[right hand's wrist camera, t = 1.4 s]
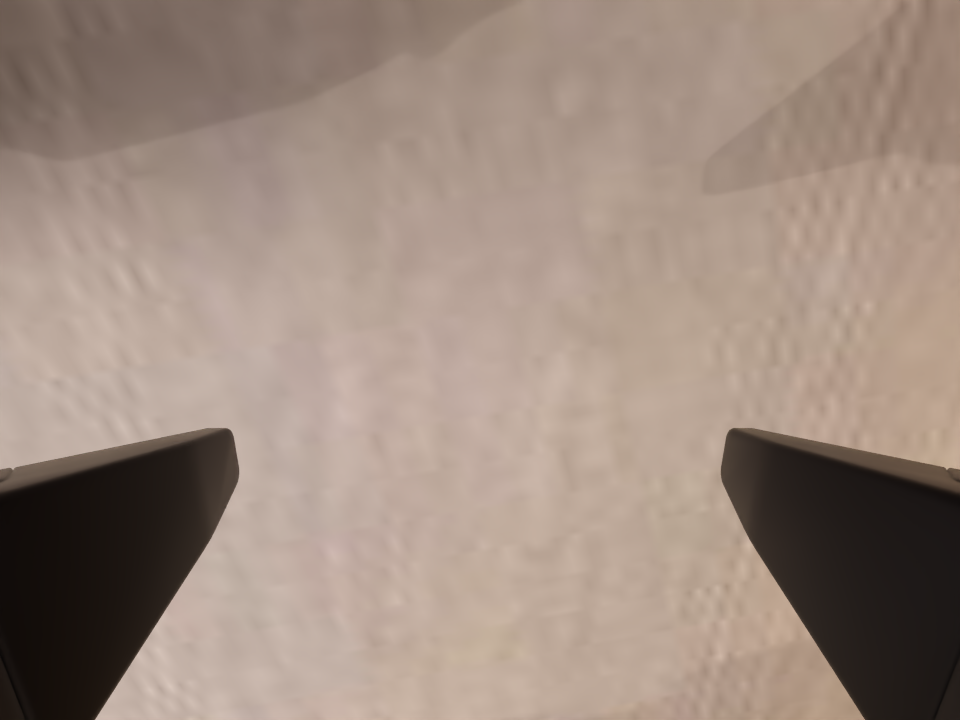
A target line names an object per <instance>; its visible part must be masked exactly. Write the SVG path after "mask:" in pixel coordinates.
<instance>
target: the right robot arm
mask: <svg viewBox="0 0 960 720" xmlns="http://www.w3.org/2000/svg"><path fill="white" fill-rule="evenodd" d="M238 478H239V465H238V459H237V453H236V448H235V442H234V436H233V434H232V432H231V430H229V429H227V428H207V429H202V430H197V431H192V432H187V433H182V434H177V435H172V436H167V437H162V438H158V439H153V440H148V441H143V442H138V443H133V444H128V445H123V446H118V447H113V448H108V449H104V450H99V451H94V452H89V453H84V454H79V455H74V456H69V457H64V458H59V459H55V460H50V461H45V462H40V463H35V464H30V465H25V466H20V467H16V468H14V470H12V469H11V468H6V469H1V470H0V720H95V719H96V717H97V716H98V714H99V713H100V711H101V709H102V708H103V706H104V705H105V703H106V702H107V700H108V699H109V697H110V695H111V694H112V692H113V691H114V689H115V688H116V686H117V685H118V683H119V681H120V680H121V678H122V677H123V675H124V674H125V672H126V671H127V669H128V667H129V666H130V664H131V663H132V661H133V660H134V658H135V657H136V655H137V653H138V652H139V650H140V649H141V647H142V646H143V644H144V643H145V641H146V639H147V638H148V636H149V635H150V633H151V632H152V630H153V629H154V627H155V625H156V624H157V622H158V621H159V619H160V618H161V616H162V615H163V613H164V611H165V610H166V608H167V607H168V605H169V604H170V602H171V600H172V599H173V597H174V596H175V594H176V593H177V591H178V590H179V588H180V586H181V585H182V583H183V582H184V580H185V579H186V577H187V576H188V574H189V572H190V571H191V569H192V568H193V566H194V565H195V563H196V562H197V560H198V558H199V557H200V555H201V554H202V552H203V551H204V549H205V547H206V546H207V544H208V542H209V541H210V539H211V537H212V535H213V533H214V531H215V529H216V527H217V525H218V523H219V521H220V519H221V517H222V515H223V512H224V510H225V508H226V506H227V504H228V502H229V500H230V498H231V496H232V493H233V491H234V489H235V487H236V485H237V482H238ZM721 478H722V482H723V485H724V487H725V489H726V491H727V493H728V496H729V498H730V500H731V502H732V504H733V506H734V508H735V510H736V513H737V515H738V517H739V519H740V521H741V523H742V525H743V527H744V529H745V531H746V533H747V535H748V537H749V539H750V541H751V542H752V544H753V546H754V547H755V549H756V551H757V552H758V554H759V555H760V557H761V558H762V560H763V562H764V563H765V565H766V566H767V568H768V569H769V571H770V572H771V574H772V576H773V577H774V579H775V580H776V582H777V583H778V585H779V586H780V588H781V590H782V591H783V593H784V594H785V596H786V597H787V599H788V600H789V602H790V604H791V605H792V607H793V608H794V610H795V611H796V613H797V614H798V616H799V618H800V619H801V621H802V622H803V624H804V625H805V627H806V628H807V630H808V632H809V633H810V635H811V636H812V638H813V639H814V641H815V642H816V644H817V646H818V647H819V649H820V650H821V652H822V653H823V655H824V656H825V658H826V660H827V661H828V663H829V664H830V666H831V667H832V669H833V670H834V672H835V674H836V675H837V677H838V678H839V680H840V681H841V683H842V684H843V686H844V688H845V689H846V691H847V692H848V694H849V695H850V697H851V698H852V700H853V702H854V703H855V705H856V706H857V708H858V709H859V711H860V713H861V714H862V716H863V717H864V719H865V720H960V470H959V469H954V468H949V469H948V470H946V468H944V467H940V466H935V465H930V464H925V463H921V462H916V461H911V460H906V459H901V458H896V457H891V456H886V455H881V454H876V453H871V452H866V451H862V450H857V449H852V448H847V447H842V446H837V445H832V444H827V443H822V442H817V441H812V440H808V439H803V438H798V437H793V436H788V435H783V434H778V433H773V432H768V431H763V430H758V429H753V428H733V429H731V430H729V432H728V434H727V436H726V442H725V448H724V453H723V459H722V465H721Z"/></svg>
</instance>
